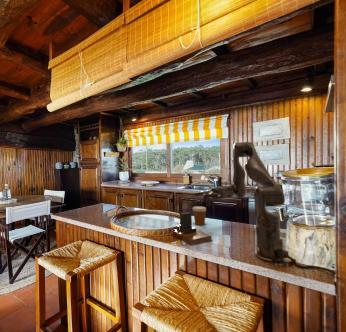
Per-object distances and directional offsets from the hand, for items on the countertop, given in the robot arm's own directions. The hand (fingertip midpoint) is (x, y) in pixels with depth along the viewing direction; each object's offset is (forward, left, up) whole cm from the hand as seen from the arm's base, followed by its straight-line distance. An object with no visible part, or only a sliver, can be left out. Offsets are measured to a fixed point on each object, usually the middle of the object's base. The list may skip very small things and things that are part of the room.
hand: (199, 195), depth 134 cm
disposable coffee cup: (+15, -12, -24) cm, 31 cm away
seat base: (-4, +11, -24) cm, 27 cm away
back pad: (0, +11, -21) cm, 24 cm away
